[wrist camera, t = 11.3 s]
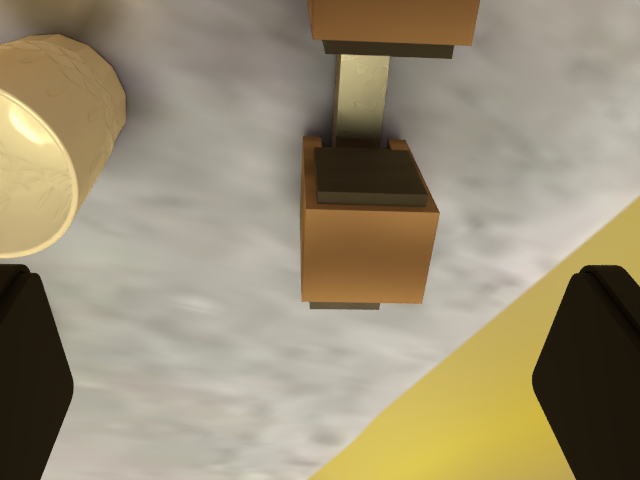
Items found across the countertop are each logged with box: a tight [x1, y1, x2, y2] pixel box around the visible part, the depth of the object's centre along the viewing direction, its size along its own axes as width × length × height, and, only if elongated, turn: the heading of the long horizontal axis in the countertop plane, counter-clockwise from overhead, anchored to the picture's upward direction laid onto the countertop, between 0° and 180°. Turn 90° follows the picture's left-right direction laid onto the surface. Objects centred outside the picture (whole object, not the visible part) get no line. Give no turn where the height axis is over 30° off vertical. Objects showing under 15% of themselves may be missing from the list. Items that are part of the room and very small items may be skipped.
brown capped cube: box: [300, 136, 440, 304], centre depth 28 cm, size 6×6×8 cm
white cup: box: [0, 34, 126, 258], centre depth 25 cm, size 8×8×10 cm
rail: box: [309, 54, 390, 310], centre depth 28 cm, size 28×4×3 cm, turn 177°
